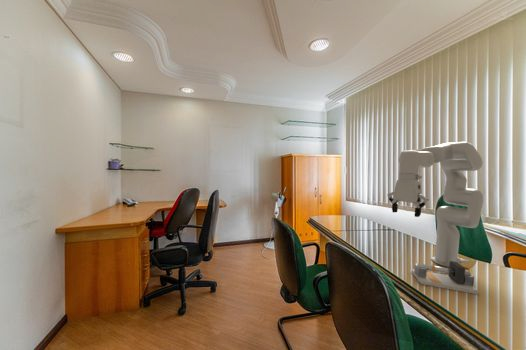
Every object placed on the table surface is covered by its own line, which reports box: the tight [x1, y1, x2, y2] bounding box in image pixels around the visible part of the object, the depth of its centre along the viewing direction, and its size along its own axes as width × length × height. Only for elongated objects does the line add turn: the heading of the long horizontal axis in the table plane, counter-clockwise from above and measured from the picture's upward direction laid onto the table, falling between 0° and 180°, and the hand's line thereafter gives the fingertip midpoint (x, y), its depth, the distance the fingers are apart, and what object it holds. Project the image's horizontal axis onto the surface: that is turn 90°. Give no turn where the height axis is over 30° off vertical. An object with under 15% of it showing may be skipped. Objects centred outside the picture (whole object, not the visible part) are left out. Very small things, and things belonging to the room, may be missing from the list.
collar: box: [448, 261, 466, 285], centre depth 96 cm, size 2×7×7 cm, turn 163°
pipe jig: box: [411, 262, 479, 295], centre depth 98 cm, size 20×12×7 cm, turn 73°
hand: (405, 214), depth 101 cm, fingers open, 9 cm apart
